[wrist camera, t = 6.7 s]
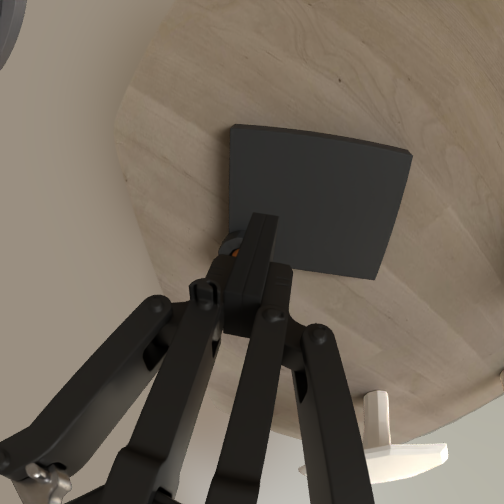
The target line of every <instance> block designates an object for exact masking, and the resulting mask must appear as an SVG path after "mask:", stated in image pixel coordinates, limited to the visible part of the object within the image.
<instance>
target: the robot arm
mask: <svg viewBox="0 0 504 504" xmlns="http://www.w3.org/2000/svg"><path fill="white" fill-rule="evenodd" d="M1 10H2V0H0V16H1ZM278 221H279V216H276V215H269V214H262V213H256V212H253V213H252V216H251V219H250V221H249V224H248V227H247V229H246V232H245V235H244V237H243V240H242V243H241V245H240V248H239V251H238V253H237V256H236V257H235V256H229V255H223V254H220V255H219V256H217V257H216V258H215V259H214V260H213V262H212V264H211V267H210V269H209V271H208V273H207V275H206V277H205V278H201V279H197V280H195V281H193V282H192V283H191V284H190V285H189V293H190V300H189V301H186V302H177V303H171V302H170V300H169V299H168V298H167V297H166V296H163V295H153V296H150V297H148V298H146V299H145V300H144V301H143V302H142V303H141V304H140V305H139V306H138V307H137V308H136V309H135V310H134V311H133V312H132V314H130V315H129V317H128V318H126V320H125V321H124V322H123V323H122V324H121V325H120V326H119V327H118V328H117V329H116V330H115V331H114V332H113V333H112V334H111V335H110V336H109V337H108V338H107V340H106V341H105V342H104V343H103V344H102V345H101V346H100V347H99V348H98V349H97V350H96V352H94V354H93V355H92V356H91V357H90V358H89V359H88V360H87V361H86V362H85V363H84V365H83V366H82V367H81V368H80V369H79V370H78V371H77V372H76V373H75V374H74V375H73V377H72V378H71V379H70V380H69V381H68V382H67V383H66V384H65V386H64V387H63V388H62V389H61V390H60V391H59V392H58V393H57V395H56V396H55V397H54V398H53V399H52V400H51V402H50V403H49V404H48V405H47V406H46V407H45V409H44V410H43V411H42V412H41V413H40V414H39V416H38V417H37V418H36V419H35V420H34V421H33V422H32V424H31V425H30V426H29V427H27V428H25V429H23V430H22V431H20V432H18V433H16V434H14V435H13V436H11V437H9V438H7V439H5V440H3V441H1V442H0V474H1V475H3V476H5V477H7V478H9V479H11V481H12V483H13V485H14V487H15V489H16V491H17V493H18V495H19V497H20V499H21V501H22V502H23V504H61V503H62V499H63V497H64V496H65V495H66V494H67V493H68V492H69V491H71V489H72V484H71V482H70V478H69V477H71V476H72V475H74V474H75V473H77V472H78V471H79V470H80V469H81V468H82V467H83V466H84V465H85V464H86V463H87V462H88V461H89V459H90V458H91V457H92V456H93V454H94V453H95V452H96V450H97V449H98V448H99V446H100V445H101V444H102V443H103V441H104V440H105V439H106V438H107V436H108V435H109V434H110V432H111V431H112V429H114V427H115V426H116V425H117V423H118V422H119V421H120V419H121V418H122V417H123V415H124V414H125V413H126V412H127V410H128V409H129V408H130V406H131V405H132V404H133V403H134V401H135V400H136V399H137V398H138V396H139V395H140V394H141V392H142V391H143V390H144V389H145V387H146V386H147V385H148V383H149V382H150V381H151V380H152V378H153V377H154V376H155V374H156V373H157V372H158V374H157V376H156V378H155V381H154V383H153V385H152V388H151V390H150V393H149V395H148V397H147V400H146V402H145V405H144V407H143V409H142V412H141V414H140V417H139V419H138V421H137V424H136V426H135V429H134V431H133V434H132V436H131V439H130V441H129V443H128V445H127V446H126V447H124V448H122V449H121V450H120V451H119V452H118V454H117V456H116V458H115V461H114V463H113V466H112V468H111V471H110V473H109V476H108V478H107V481H106V484H105V485H102V486H100V487H98V488H96V489H94V490H92V491H90V492H88V493H86V494H85V495H82V496H80V497H78V498H76V499H74V500H71V501H69V502H67V503H65V504H181V503H179V502H177V501H176V500H174V499H175V496H176V492H177V489H178V485H179V475H180V471H181V467H182V464H183V461H184V458H185V455H186V452H187V448H188V445H189V442H190V439H191V436H192V432H193V429H194V426H195V423H196V419H197V416H198V413H199V410H200V407H201V404H202V401H203V397H204V394H205V391H206V388H207V385H208V382H209V378H210V375H211V372H212V369H213V366H214V363H215V359H216V356H217V353H218V350H219V347H220V344H221V334H222V330H223V333H225V334H230V335H235V336H241V337H246V338H250V341H249V345H248V349H247V353H246V357H245V361H244V365H243V369H242V373H241V377H240V381H239V385H238V389H237V392H236V396H235V400H234V404H233V408H232V412H231V416H230V420H229V423H228V427H227V431H226V435H225V439H224V442H223V446H222V450H221V454H220V457H219V461H218V465H217V469H216V472H215V474H214V477H213V479H212V481H211V484H210V488H209V491H208V495H207V498H206V502H205V504H256V503H257V499H258V494H259V487H260V479H261V474H262V469H263V464H264V459H265V454H266V449H267V443H268V438H269V433H270V428H271V422H272V417H273V411H274V405H275V399H276V393H277V387H278V381H279V375H280V369H281V365H283V366H285V367H287V368H289V369H291V370H292V377H293V384H294V390H295V397H296V403H297V410H298V417H299V423H300V430H301V437H302V444H303V451H304V458H305V466H306V473H307V480H308V488H309V495H310V503H311V504H375V503H374V497H373V492H372V487H371V482H370V477H369V472H368V467H367V463H366V458H365V454H364V449H363V445H362V440H361V436H360V432H359V427H358V423H357V419H356V415H355V411H354V407H353V403H352V399H351V395H350V391H349V387H348V383H347V380H346V376H345V372H344V369H343V365H342V361H341V358H340V354H339V350H338V347H337V343H336V340H335V336H334V334H333V332H332V330H331V329H330V328H328V327H327V326H325V325H323V324H317V323H315V324H310V325H308V326H307V327H306V326H304V325H301V324H299V323H298V322H296V321H295V320H294V319H292V317H291V316H290V314H289V301H290V293H291V285H292V277H293V271H292V269H291V266H290V265H288V264H282V263H276V262H273V257H274V251H275V244H276V236H277V229H278Z"/></svg>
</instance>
